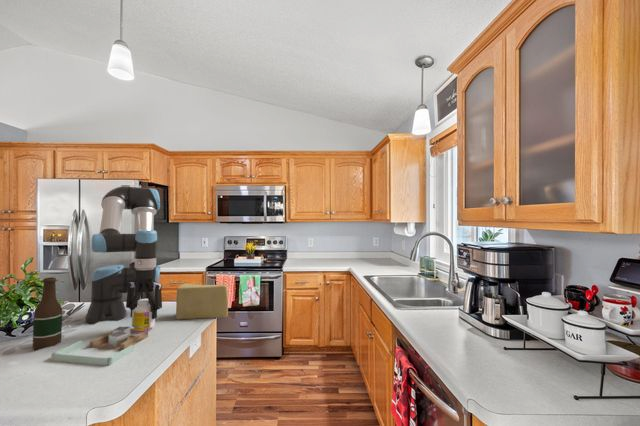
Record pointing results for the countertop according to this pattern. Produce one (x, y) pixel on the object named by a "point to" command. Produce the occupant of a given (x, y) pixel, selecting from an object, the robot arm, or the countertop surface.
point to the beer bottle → (47, 318)
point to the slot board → (103, 344)
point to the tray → (64, 356)
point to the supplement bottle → (142, 316)
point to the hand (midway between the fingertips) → (143, 326)
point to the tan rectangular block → (201, 301)
